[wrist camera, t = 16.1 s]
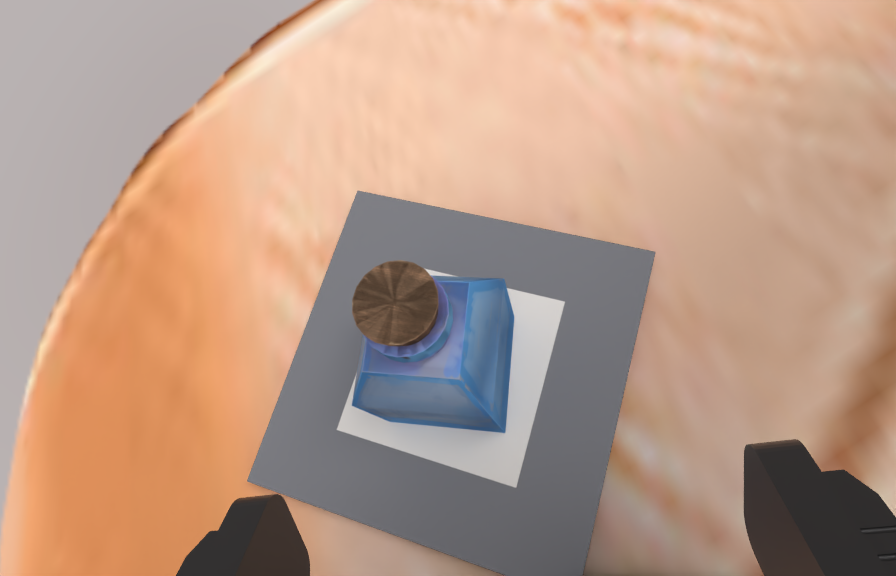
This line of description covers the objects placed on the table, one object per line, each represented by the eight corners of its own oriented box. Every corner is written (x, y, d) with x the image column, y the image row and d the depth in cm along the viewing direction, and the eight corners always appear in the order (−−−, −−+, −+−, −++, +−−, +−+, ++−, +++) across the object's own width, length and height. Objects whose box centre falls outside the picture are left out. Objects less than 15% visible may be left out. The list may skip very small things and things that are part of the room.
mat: (652, 258, 33) (655, 250, 32) (576, 598, 29) (576, 602, 28) (362, 198, 38) (356, 189, 37) (255, 481, 33) (245, 481, 32)
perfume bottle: (514, 317, 33) (489, 223, 21) (505, 432, 31) (472, 397, 20) (404, 310, 34) (327, 219, 23) (389, 421, 32) (296, 382, 21)
